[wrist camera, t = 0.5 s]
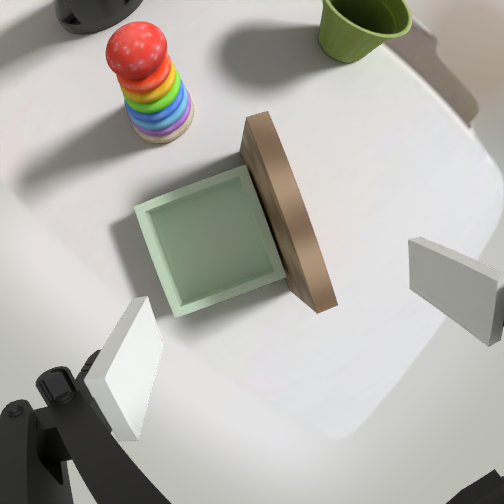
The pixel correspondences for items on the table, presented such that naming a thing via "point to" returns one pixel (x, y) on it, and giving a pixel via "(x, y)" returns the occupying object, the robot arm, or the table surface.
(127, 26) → the stacking toy
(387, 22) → the plant pot
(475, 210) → the table surface
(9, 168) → the table surface
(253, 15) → the table surface
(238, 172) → the mint green square tray
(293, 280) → the backstop wall
